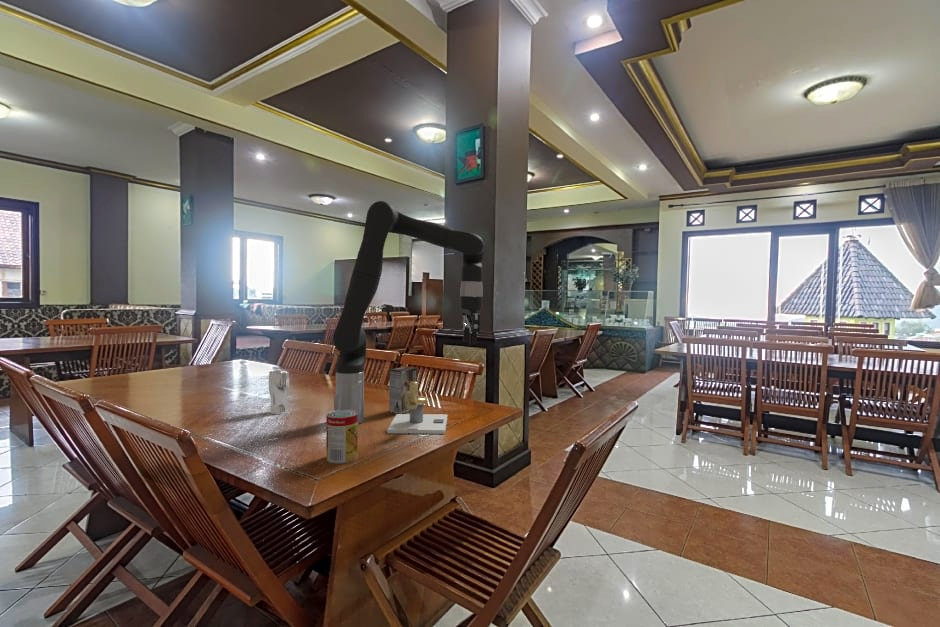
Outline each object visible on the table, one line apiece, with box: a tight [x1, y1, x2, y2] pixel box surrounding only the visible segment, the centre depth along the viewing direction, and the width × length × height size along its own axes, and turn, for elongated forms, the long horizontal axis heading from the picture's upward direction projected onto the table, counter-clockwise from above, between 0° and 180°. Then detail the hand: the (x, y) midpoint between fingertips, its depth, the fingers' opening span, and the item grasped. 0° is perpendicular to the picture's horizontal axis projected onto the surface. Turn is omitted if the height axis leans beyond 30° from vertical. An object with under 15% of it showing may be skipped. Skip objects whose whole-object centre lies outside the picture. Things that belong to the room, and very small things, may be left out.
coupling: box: [406, 381, 428, 409], centre depth 141 cm, size 7×12×8 cm, turn 0°
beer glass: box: [268, 369, 290, 415], centre depth 158 cm, size 7×7×15 cm
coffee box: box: [388, 366, 418, 414], centre depth 162 cm, size 9×6×16 cm
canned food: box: [326, 409, 359, 465], centre depth 114 cm, size 8×8×12 cm
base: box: [386, 404, 448, 435], centre depth 144 cm, size 18×18×7 cm
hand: (469, 343), depth 145 cm, fingers open, 8 cm apart
